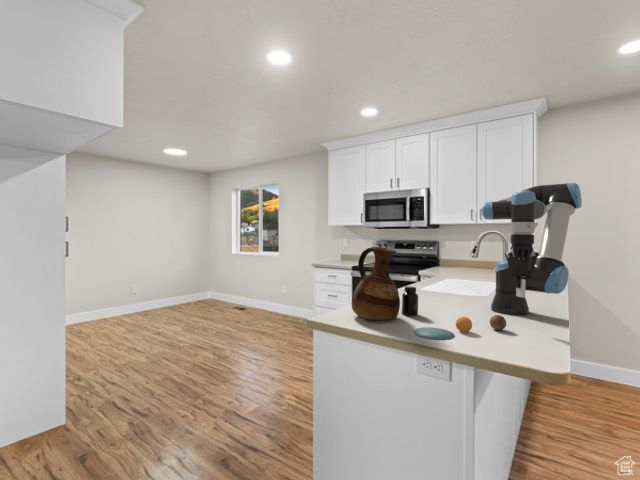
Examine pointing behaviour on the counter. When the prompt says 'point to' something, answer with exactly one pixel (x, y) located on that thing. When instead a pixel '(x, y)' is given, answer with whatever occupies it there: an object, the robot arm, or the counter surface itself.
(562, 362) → the counter surface
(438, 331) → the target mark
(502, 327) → the dark brown ball
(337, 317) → the counter surface
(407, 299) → the supplement bottle
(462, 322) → the object ball
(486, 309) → the counter surface
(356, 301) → the ceramic pitcher
